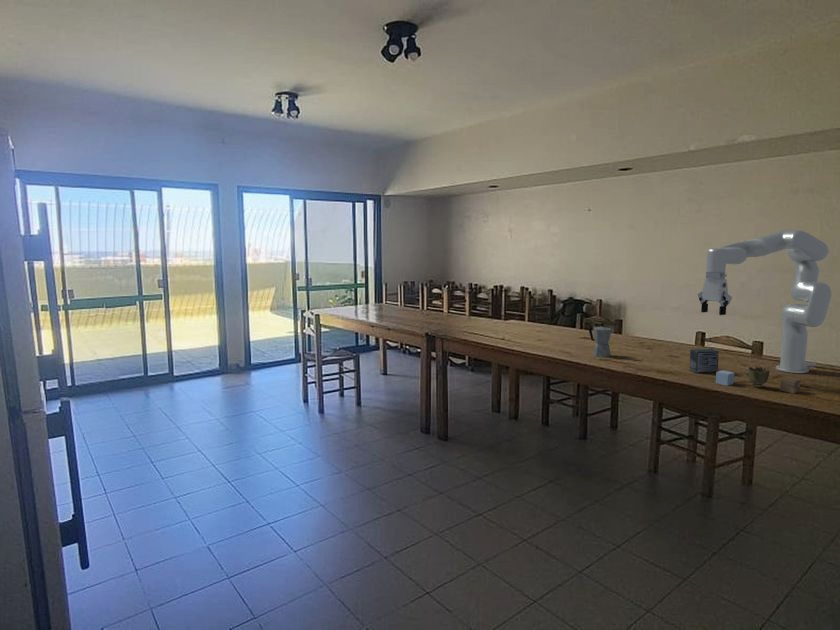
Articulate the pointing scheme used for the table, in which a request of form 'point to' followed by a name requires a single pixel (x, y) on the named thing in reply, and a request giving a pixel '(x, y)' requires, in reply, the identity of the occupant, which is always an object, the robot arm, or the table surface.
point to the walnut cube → (790, 385)
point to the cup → (758, 376)
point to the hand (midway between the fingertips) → (713, 313)
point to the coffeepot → (601, 340)
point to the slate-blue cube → (725, 377)
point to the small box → (704, 360)
